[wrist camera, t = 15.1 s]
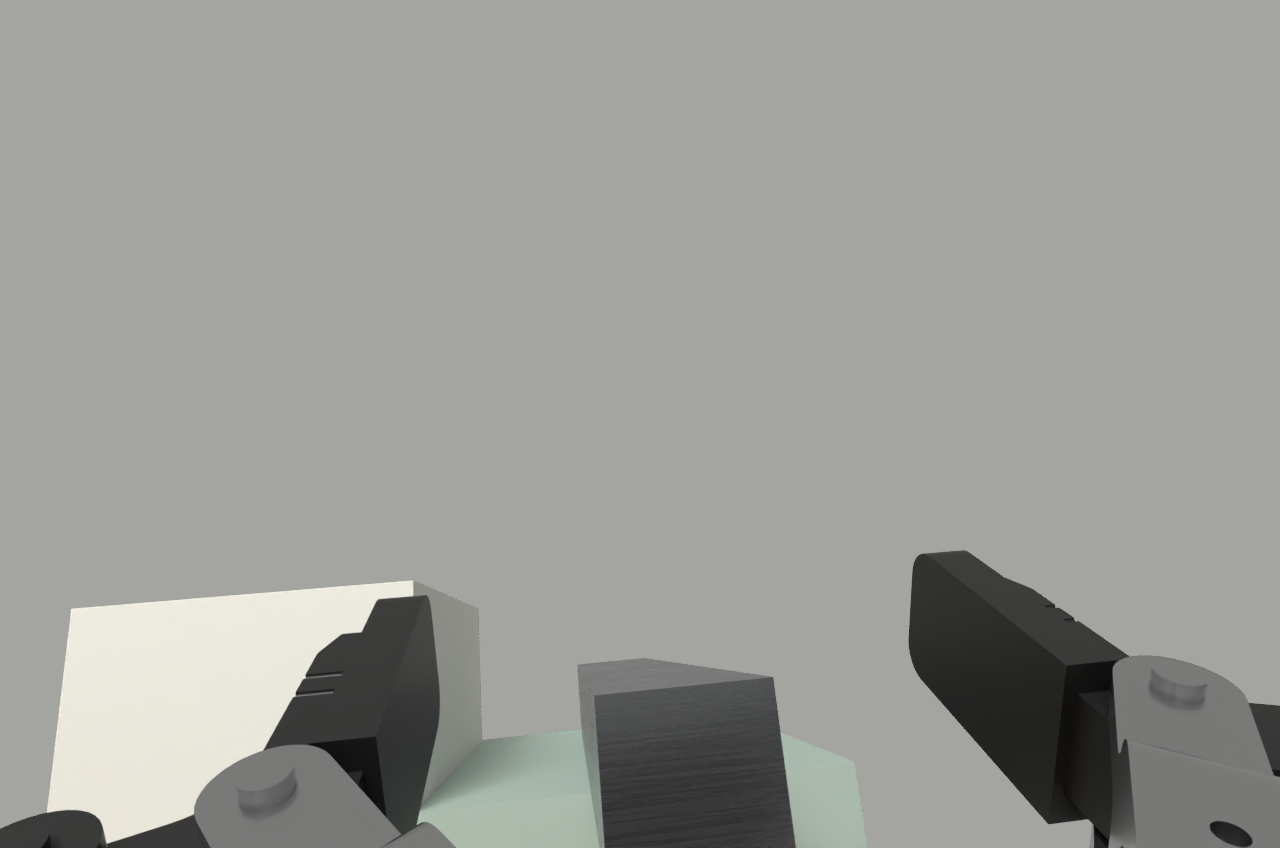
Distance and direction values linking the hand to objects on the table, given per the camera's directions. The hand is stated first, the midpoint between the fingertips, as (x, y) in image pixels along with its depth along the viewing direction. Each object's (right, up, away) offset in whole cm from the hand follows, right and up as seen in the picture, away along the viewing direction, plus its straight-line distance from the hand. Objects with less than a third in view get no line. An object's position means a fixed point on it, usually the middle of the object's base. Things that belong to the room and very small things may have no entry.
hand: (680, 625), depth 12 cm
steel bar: (-1, -7, +10) cm, 12 cm away
